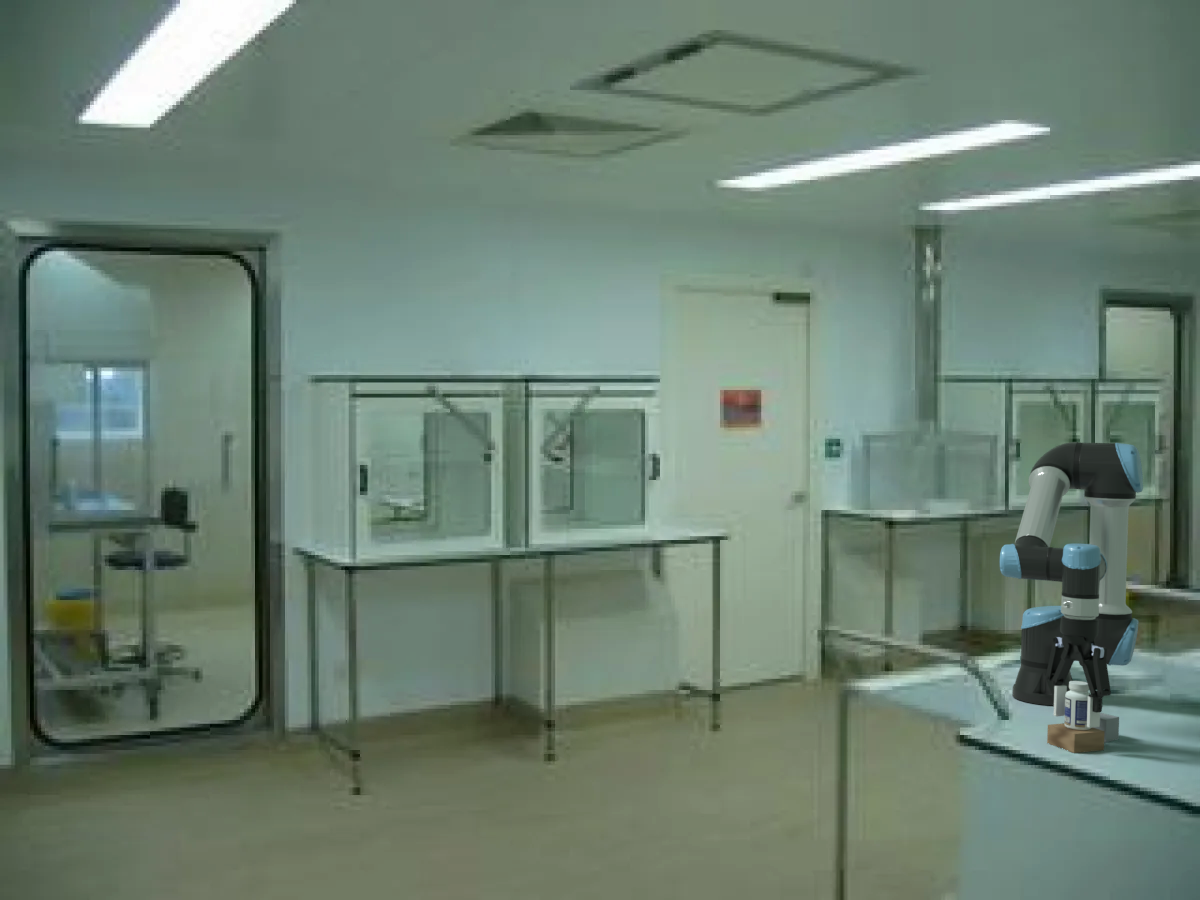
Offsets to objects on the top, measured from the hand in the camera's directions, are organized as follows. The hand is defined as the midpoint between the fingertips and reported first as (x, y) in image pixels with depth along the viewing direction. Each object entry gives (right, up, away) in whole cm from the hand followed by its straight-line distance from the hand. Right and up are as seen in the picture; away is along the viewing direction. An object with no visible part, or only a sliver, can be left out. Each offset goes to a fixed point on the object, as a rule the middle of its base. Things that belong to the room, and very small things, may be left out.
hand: (1076, 721), depth 257 cm
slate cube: (+9, -6, +8) cm, 13 cm away
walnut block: (0, -6, 0) cm, 6 cm away
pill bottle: (0, -2, 0) cm, 2 cm away
